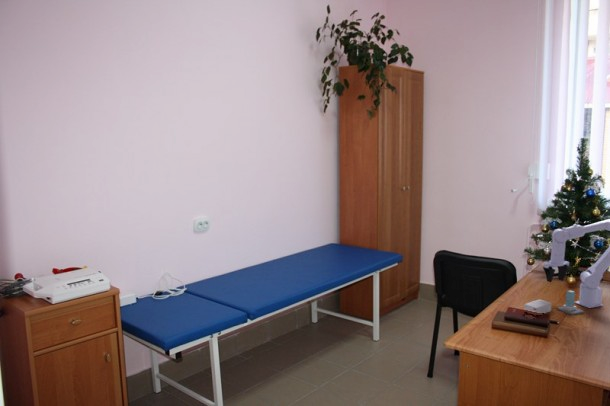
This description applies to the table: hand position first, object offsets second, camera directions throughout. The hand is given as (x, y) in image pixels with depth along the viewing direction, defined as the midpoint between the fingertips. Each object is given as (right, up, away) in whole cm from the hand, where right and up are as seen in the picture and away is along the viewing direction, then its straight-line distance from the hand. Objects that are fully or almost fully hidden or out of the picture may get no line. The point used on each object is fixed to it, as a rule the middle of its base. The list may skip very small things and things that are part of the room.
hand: (555, 280), depth 227 cm
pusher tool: (+1, -11, -11) cm, 16 cm away
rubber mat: (+1, -12, -11) cm, 17 cm away
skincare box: (-9, -10, -10) cm, 17 cm away
